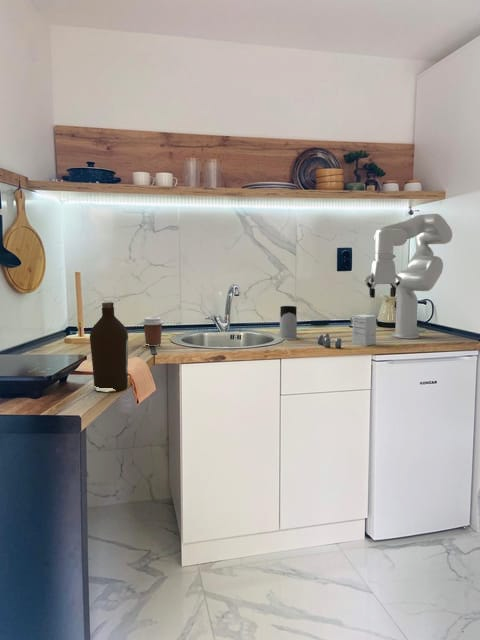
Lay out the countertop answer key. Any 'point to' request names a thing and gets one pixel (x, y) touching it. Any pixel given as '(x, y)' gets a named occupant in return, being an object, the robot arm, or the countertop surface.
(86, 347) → the countertop surface
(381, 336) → the countertop surface
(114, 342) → the olive oil
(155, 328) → the coffee cup
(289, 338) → the glass holder
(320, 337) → the stub cradle
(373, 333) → the supplement box
